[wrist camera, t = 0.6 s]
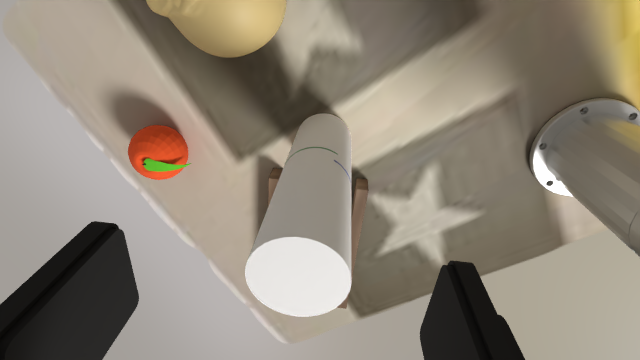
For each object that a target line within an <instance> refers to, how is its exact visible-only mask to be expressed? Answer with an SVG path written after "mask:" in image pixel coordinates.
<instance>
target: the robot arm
mask: <svg viewBox="0 0 640 360" xmlns="http://www.w3.org/2000/svg"><path fill="white" fill-rule="evenodd" d="M540 144H541V145H540ZM529 163H530V167H531V171H532V173H533V175H534V177H535V178H536V179H537V181H538V182H539V183H540V184H541V185H542V186H543V187H544V188H546V189H548V190H549V191H551V192H553V193H556V194H560V195H565V196H574V197H575V198H576V199H577V200H578V201H579V202H580V203H581V204H582V205H584V206H585V207H586V208H587V209H588V210H589V211H590V212H591V213H592V214H593V215H594V216H595V217H597V218H598V219H599V220H600V221H601V222H602V223H603V224H604V225H605V226H606V227H607V228H609V229H610V230H611V231H612V232H613V233H614V234H615V235H616V236H617V237H618V238H619V239H620V240H622V241H623V242H624V243H625V244H626V245H627V246H628V247H629V248H630V249H632V250H633V251H634V252H635V253H636V254H637V255H638V256H639V257H640V111H639V110H637V109H636V108H635V107H634V106H632V105H629V104H627V103H625V102H622V101H619V100H616V99H609V98H597V99H590V100H586V101H582V102H579V103H577V104H574V105H571V106H569V107H568V108H566V109H564V110H562V111H561V112H559V113H558V114H557V115H555V116H554V117H553V118H551V119H550V120H549V121H548V122H547V123H546V124H545V125H544V126H543V127H542V129H541V130H540V132H539V133H538V134H537V136H536V138H535V140H534V142H533V144H532V147H531V151H530V161H529ZM138 301H139V295H138V290H137V286H136V282H135V278H134V273H133V269H132V265H131V261H130V257H129V253H128V248H127V244H126V240H125V235H124V232H123V231H122V230H120V229H119V228H118V226H117V225H116V224H114V223H105V222H96V221H95V222H91V223H90V224H88V225H87V226H86V227H85V228H84V229H83V230H82V231H81V232H80V233H78V234H77V236H75V237H74V238H73V239H72V240H71V241H70V242H69V243H68V244H66V245H65V246H64V247H63V248H62V249H61V250H60V251H59V252H58V253H56V254H55V255H54V256H53V257H52V258H51V259H50V260H49V261H48V262H47V263H45V265H43V266H42V267H41V268H40V269H39V270H38V271H37V272H36V273H34V274H33V275H32V276H31V277H30V278H29V279H28V280H27V281H26V282H25V283H23V284H22V285H21V286H20V287H19V288H18V289H17V290H16V291H15V292H14V293H12V294H11V295H10V296H9V297H8V298H7V299H6V300H5V301H4V302H3V303H2V304H0V360H102V359H103V357H104V356H105V354H106V353H107V351H108V350H109V348H110V347H111V345H112V344H113V342H114V341H115V339H116V338H117V336H118V335H119V333H120V332H121V330H122V329H123V327H124V326H125V324H126V323H127V321H128V319H129V318H130V317H131V315H132V313H133V312H134V310H135V309H136V307H137V304H138ZM420 340H421V346H422V351H423V355H424V360H525V358H524V357H523V354H522V352H521V350H520V348H519V346H518V344H517V342H516V340H515V338H514V336H513V334H512V332H511V330H510V328H509V325H508V324H507V322H506V321H505V319H504V318H503V317H502V316H501V315H497V312H496V310H495V308H494V306H493V304H492V302H491V300H490V298H489V296H488V293H487V291H486V289H485V287H484V285H483V283H482V280H481V278H480V276H479V274H478V272H477V270H476V268H475V266H474V264H472V263H469V262H460V261H450V262H449V263H448V265H443V266H442V267H441V270H440V273H439V276H438V279H437V282H436V285H435V288H434V291H433V293H432V297H431V299H430V302H429V305H428V308H427V311H426V314H425V317H424V320H423V323H422V326H421V329H420Z"/></svg>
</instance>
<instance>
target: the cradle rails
mask: <svg viewBox="0 0 640 360" xmlns="http://www.w3.org/2000/svg"><path fill="white" fill-rule="evenodd" d="M282 170H283V169H277V168H273V170H272V172H271V174H270V177H269V189H268V206H269V204H270V201H271V199H272V196H273V194H274V191H275V188H276V186H277V183H278V181H279V178H280V175H281V173H282ZM367 195H368V180H367V179H360V178H356V185H355V191H354V197H353V203H352V209H351V280H352V275H353V270H354V265H355V259H356V254H357V249H358V243H359V238H360V233H361V227H362V222H363V217H364V211H365V206H366V201H367ZM348 296H349V293H348V295H347V297H346V299H345V300H344V301H343V302H342V303H341V304H340V305H339V306H338V308H345V309H346V307H347V302H348Z"/></svg>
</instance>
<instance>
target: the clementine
mask: <svg viewBox="0 0 640 360" xmlns="http://www.w3.org/2000/svg"><path fill="white" fill-rule="evenodd" d="M128 155H129V159H130V162H131V164H132V166H133V167H134V168H135V170H136V171H137V172H139V173H140V174H141V175H143V176H145V177H148V178H151V179H156V180H162V179H168V178H171V177H173V176H175V175H177V174H178V173H179V172H180V171H181V170H182V169H183V168H184V167H186V166H187V165H189V164H186V162H187V160H188V147H187V144H186V142H185V140H184V138H183V137H182V136H181V135H180V134H179V133H178V132H177V131H175V130H174V129H172V128H170V127H167V126H161V125H152V126H148V127H145V128H143V129H141V130H139V131H138V132H137V133H136V134H135V135H134V136H133V138H132V139H131V141H130V144H129V147H128ZM190 164H191V163H190Z"/></svg>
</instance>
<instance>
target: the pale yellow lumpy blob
mask: <svg viewBox="0 0 640 360" xmlns="http://www.w3.org/2000/svg"><path fill="white" fill-rule="evenodd" d="M146 1H147V4H148V6H149V7H150V9H151V10H152V11H153V12H155V13H157V14H160V15H162V16H165V17H168V18H169V19H170V20H171V21H172V22H173V24H174V25H175V26H176V27H177V28H178V30H179V31H180V32H181V33H182V34H183V35H184V36H185V37H186V38H187V39H188V40H189V41H190V42H191V43H192V44H194V45H195V46H196V47H198V48H199V49H201V50H203V51H204V52H206V53H209V54H211V55H214V56H218V57H225V58H233V57H240V56H244V55H247V54H250V53H252V52H254V51H256V50H258V49H259V48H261V47H262V46H264V45H265V44H266V43H267V42H268V41H269V40H270V39H271V38H272V37H273V36H274V35H275V34H276V32H277V31H278V29H279V27H280V25H281V23H282V21H283V18H284V15H285V10H286V0H146Z"/></svg>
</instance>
